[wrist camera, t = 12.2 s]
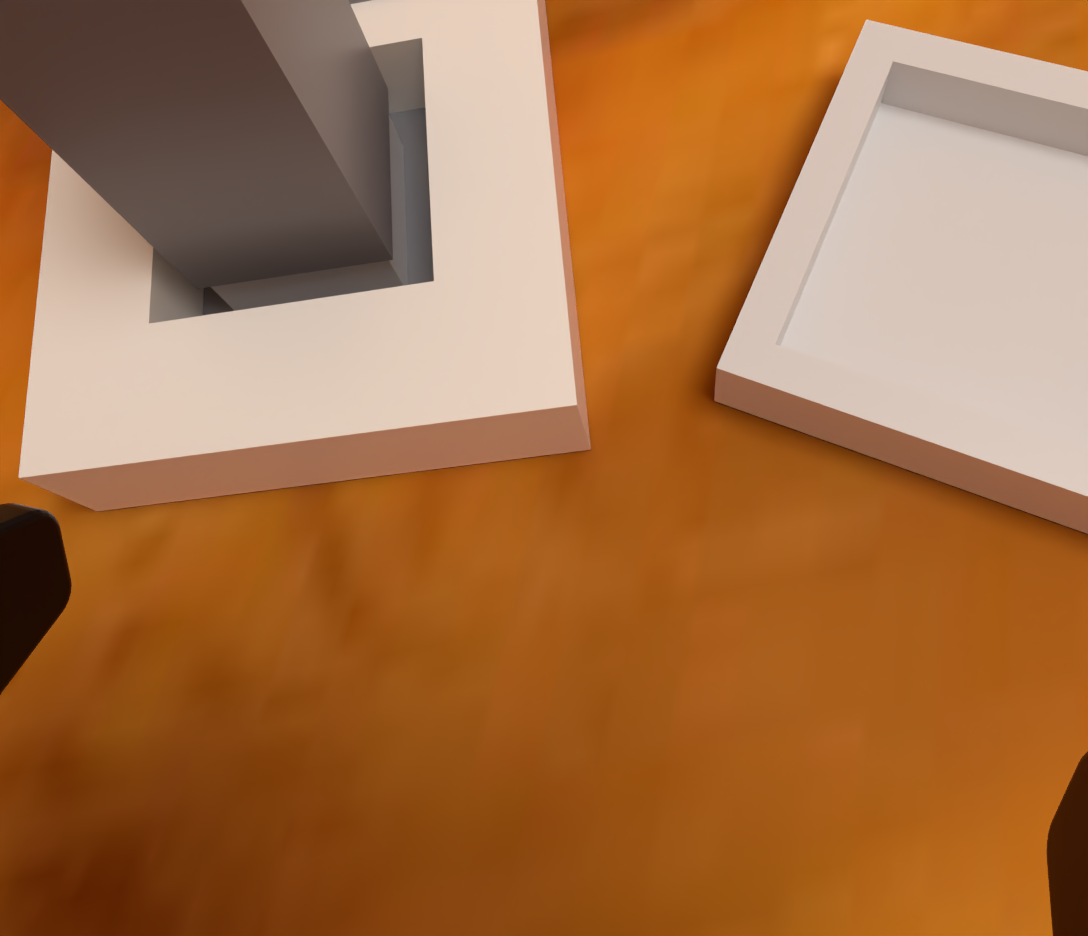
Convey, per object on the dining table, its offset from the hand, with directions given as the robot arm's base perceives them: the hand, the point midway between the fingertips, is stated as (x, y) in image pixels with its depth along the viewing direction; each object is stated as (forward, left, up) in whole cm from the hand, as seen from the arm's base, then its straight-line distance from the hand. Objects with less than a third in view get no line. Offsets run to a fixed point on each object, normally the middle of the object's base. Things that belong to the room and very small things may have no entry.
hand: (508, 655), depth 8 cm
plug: (+1, +15, -13) cm, 20 cm away
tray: (+13, +3, -14) cm, 19 cm away
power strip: (+3, +18, -14) cm, 23 cm away
